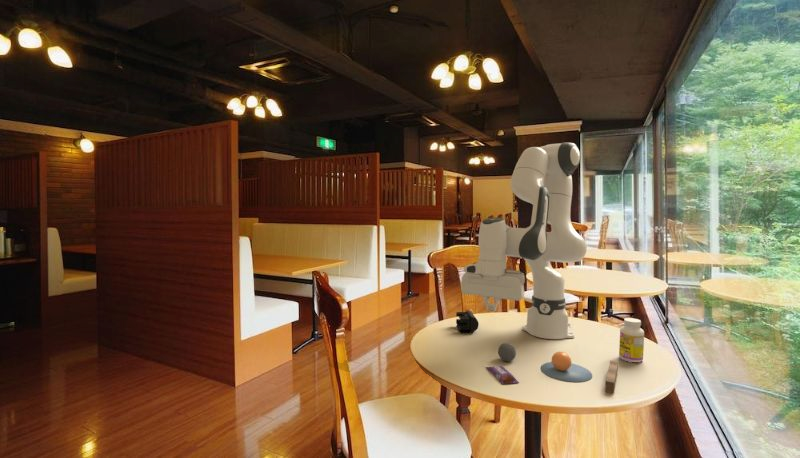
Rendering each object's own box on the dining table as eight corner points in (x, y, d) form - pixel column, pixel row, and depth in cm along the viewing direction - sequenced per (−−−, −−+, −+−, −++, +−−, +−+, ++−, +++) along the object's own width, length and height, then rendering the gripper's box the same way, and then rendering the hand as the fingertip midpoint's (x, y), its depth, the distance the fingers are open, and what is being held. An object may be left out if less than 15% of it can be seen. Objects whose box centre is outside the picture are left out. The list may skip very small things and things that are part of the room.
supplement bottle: (614, 355, 129) (615, 317, 129) (633, 355, 130) (635, 316, 129) (628, 363, 123) (629, 323, 122) (648, 363, 123) (649, 322, 122)
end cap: (478, 334, 151) (478, 316, 151) (460, 334, 151) (460, 316, 150) (473, 326, 161) (473, 309, 161) (455, 326, 161) (456, 309, 160)
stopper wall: (610, 370, 118) (610, 360, 118) (617, 371, 117) (618, 361, 117) (605, 391, 104) (605, 380, 104) (613, 393, 103) (614, 382, 103)
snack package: (485, 363, 120) (501, 362, 121) (485, 370, 120) (500, 369, 121) (502, 380, 108) (519, 379, 109) (502, 387, 108) (519, 386, 109)
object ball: (576, 359, 118) (563, 370, 120) (561, 345, 120) (549, 356, 122) (574, 366, 113) (561, 377, 116) (559, 351, 115) (546, 363, 117)
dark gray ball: (514, 338, 125) (521, 354, 125) (499, 341, 129) (507, 356, 129) (506, 347, 121) (514, 363, 121) (492, 349, 125) (499, 365, 125)
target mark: (546, 358, 127) (546, 358, 127) (594, 368, 119) (594, 367, 119) (536, 374, 115) (536, 374, 115) (589, 386, 107) (589, 385, 107)
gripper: (527, 269, 124) (526, 312, 125) (466, 264, 135) (466, 304, 136) (522, 272, 119) (521, 317, 120) (459, 266, 130) (458, 308, 131)
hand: (491, 310), depth 128 cm, fingers closed
